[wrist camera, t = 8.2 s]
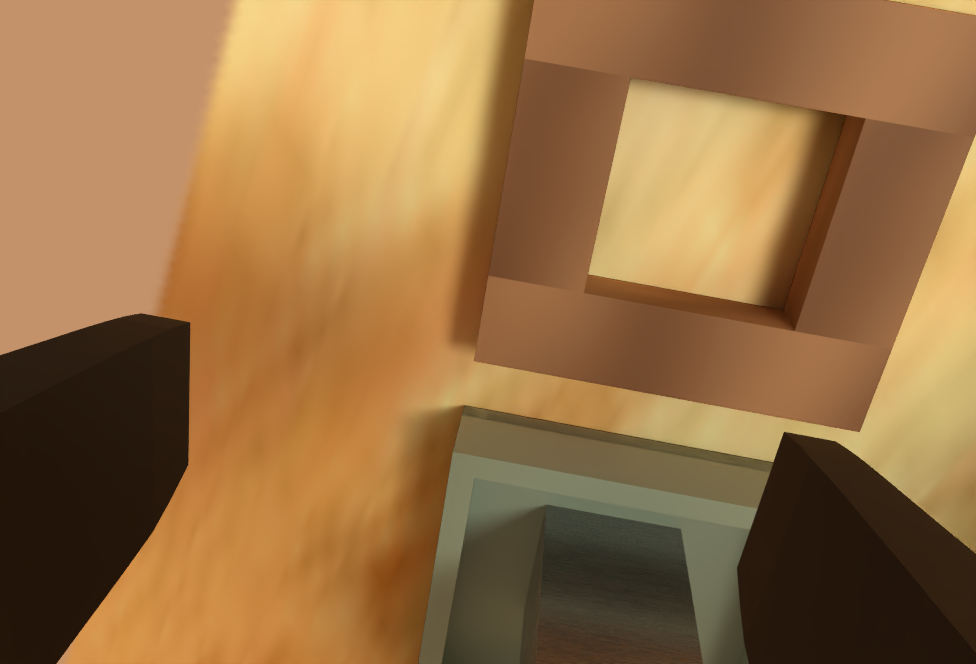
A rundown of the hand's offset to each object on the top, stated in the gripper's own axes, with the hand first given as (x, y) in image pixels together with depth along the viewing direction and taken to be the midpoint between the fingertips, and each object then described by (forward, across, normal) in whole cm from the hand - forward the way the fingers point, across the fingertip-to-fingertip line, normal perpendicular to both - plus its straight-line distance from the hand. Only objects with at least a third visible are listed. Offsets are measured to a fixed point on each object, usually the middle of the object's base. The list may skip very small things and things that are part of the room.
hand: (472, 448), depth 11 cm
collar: (+10, -4, -1) cm, 11 cm away
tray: (+10, -4, +10) cm, 15 cm away
